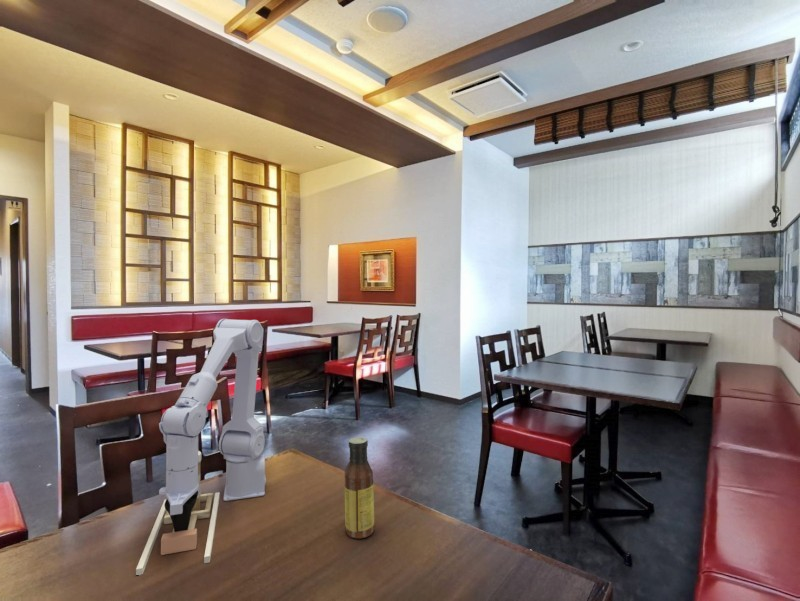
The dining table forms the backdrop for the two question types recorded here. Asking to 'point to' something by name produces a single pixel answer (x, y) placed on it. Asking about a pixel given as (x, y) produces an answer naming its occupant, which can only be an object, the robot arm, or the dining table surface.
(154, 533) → the lane rails
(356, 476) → the sauce bottle
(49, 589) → the dining table surface
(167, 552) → the sliding strip
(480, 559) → the dining table surface
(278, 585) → the dining table surface
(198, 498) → the sprinkles bottle
